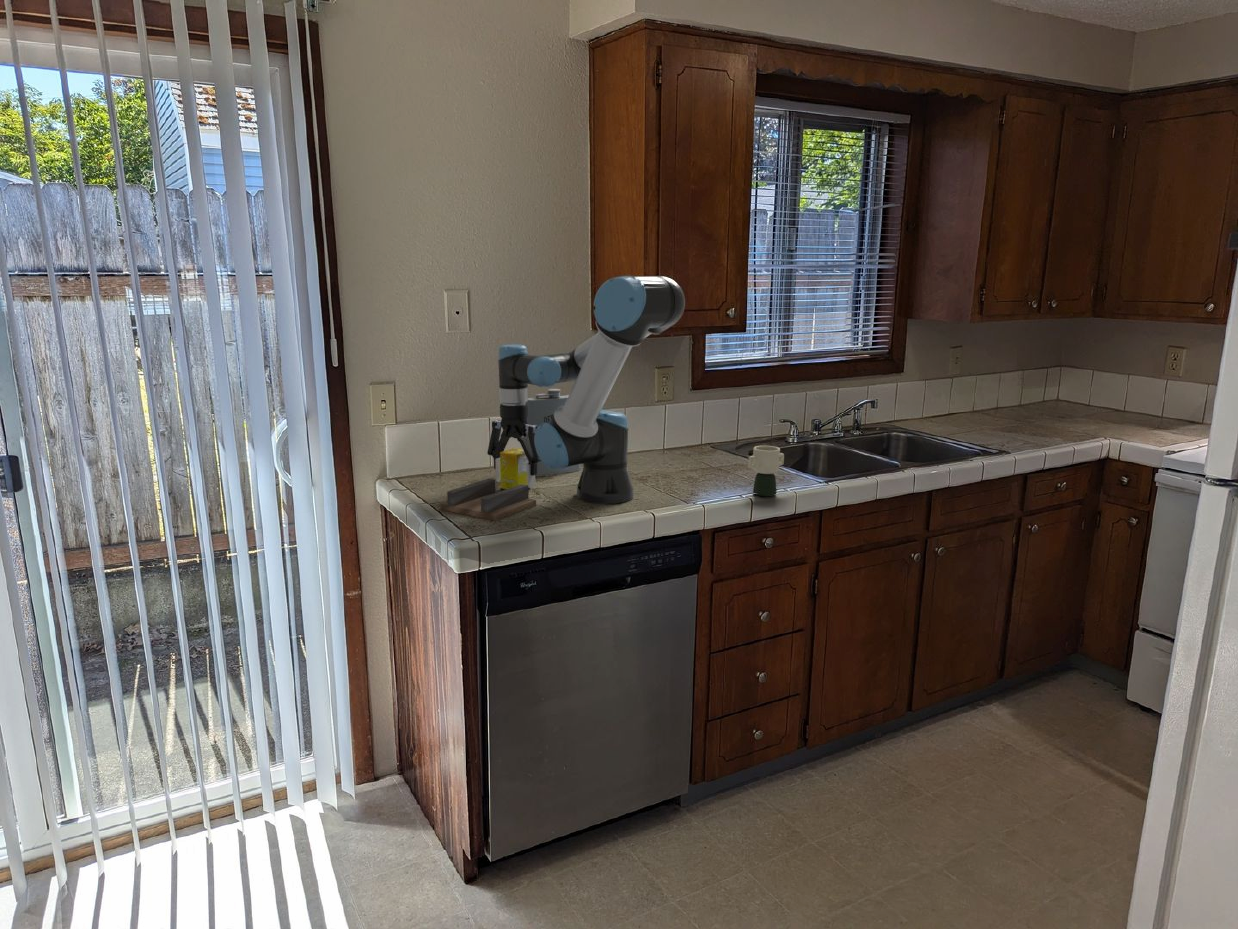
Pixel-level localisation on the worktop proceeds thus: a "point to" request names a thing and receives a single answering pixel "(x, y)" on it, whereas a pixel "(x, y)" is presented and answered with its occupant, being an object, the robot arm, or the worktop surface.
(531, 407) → the flask
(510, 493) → the slot rack
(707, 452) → the worktop surface
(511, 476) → the supplement box
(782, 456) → the character mug
